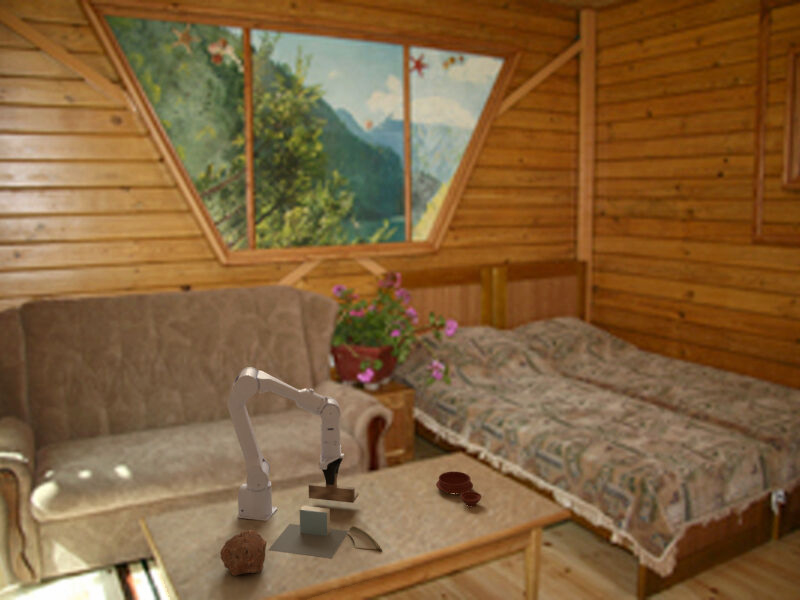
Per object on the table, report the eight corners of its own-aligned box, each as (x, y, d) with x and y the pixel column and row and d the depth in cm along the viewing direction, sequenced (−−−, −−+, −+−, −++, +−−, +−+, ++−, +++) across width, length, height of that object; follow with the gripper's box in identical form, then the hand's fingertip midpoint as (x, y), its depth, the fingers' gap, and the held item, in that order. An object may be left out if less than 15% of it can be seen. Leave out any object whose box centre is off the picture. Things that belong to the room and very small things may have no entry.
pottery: (462, 480, 236) (462, 468, 236) (492, 506, 218) (493, 492, 217) (430, 486, 232) (430, 473, 231) (458, 513, 214) (458, 499, 213)
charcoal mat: (268, 550, 192) (268, 550, 192) (289, 524, 207) (289, 523, 207) (331, 559, 188) (331, 558, 188) (348, 531, 203) (348, 530, 203)
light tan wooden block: (300, 532, 201) (299, 509, 200) (303, 528, 204) (302, 505, 203) (327, 536, 200) (326, 512, 198) (330, 531, 202) (329, 508, 201)
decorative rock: (256, 586, 176) (254, 548, 174) (213, 581, 178) (211, 544, 176) (274, 558, 189) (273, 523, 187) (234, 554, 191) (232, 519, 189)
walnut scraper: (308, 498, 216) (308, 472, 215) (315, 490, 221) (314, 465, 220) (353, 502, 213) (352, 476, 211) (358, 494, 218) (358, 469, 217)
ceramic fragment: (383, 552, 192) (382, 538, 192) (367, 558, 189) (367, 545, 189) (352, 533, 203) (351, 520, 202) (337, 539, 200) (336, 526, 199)
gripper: (335, 449, 204) (336, 494, 206) (350, 432, 218) (351, 474, 220) (312, 447, 205) (313, 491, 208) (328, 430, 219) (329, 472, 222)
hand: (331, 482), depth 214 cm, fingers closed on walnut scraper
